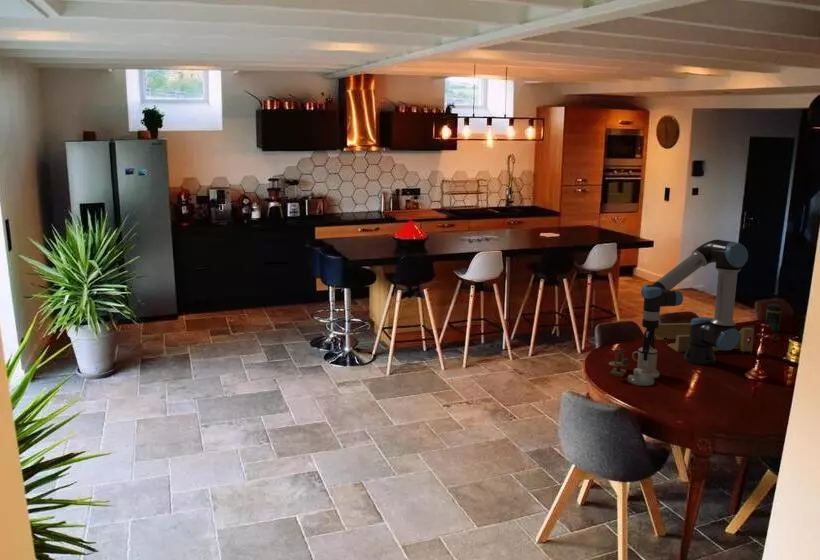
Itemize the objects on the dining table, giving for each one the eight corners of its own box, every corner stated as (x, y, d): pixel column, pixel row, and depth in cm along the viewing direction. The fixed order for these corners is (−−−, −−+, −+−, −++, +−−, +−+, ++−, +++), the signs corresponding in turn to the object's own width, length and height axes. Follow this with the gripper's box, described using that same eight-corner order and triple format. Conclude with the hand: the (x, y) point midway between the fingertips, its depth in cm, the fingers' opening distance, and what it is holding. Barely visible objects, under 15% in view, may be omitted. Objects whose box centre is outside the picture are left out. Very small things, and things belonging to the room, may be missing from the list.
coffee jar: (777, 336, 413) (781, 306, 410) (763, 334, 418) (766, 304, 414) (779, 333, 421) (783, 303, 418) (765, 331, 426) (768, 301, 422)
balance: (617, 367, 347) (619, 340, 344) (629, 369, 344) (631, 342, 341) (606, 378, 328) (608, 350, 326) (619, 380, 325) (621, 352, 323)
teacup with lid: (659, 367, 336) (661, 344, 334) (652, 372, 329) (654, 348, 327) (634, 362, 343) (636, 340, 341) (628, 367, 336) (630, 344, 334)
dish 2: (656, 380, 327) (656, 377, 327) (651, 387, 317) (651, 384, 316) (630, 376, 333) (630, 373, 332) (624, 382, 322) (625, 379, 322)
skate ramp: (713, 337, 409) (716, 311, 406) (751, 354, 375) (754, 326, 372) (651, 339, 403) (653, 312, 400) (683, 356, 369) (686, 327, 366)
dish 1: (661, 373, 338) (661, 370, 338) (656, 379, 328) (657, 376, 327) (636, 369, 344) (636, 366, 344) (631, 375, 334) (631, 372, 333)
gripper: (647, 313, 342) (643, 357, 346) (637, 322, 323) (634, 368, 327) (663, 315, 338) (659, 359, 342) (654, 324, 320) (650, 371, 324)
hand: (647, 364), depth 335 cm, fingers closed on teacup with lid, 9 cm apart
